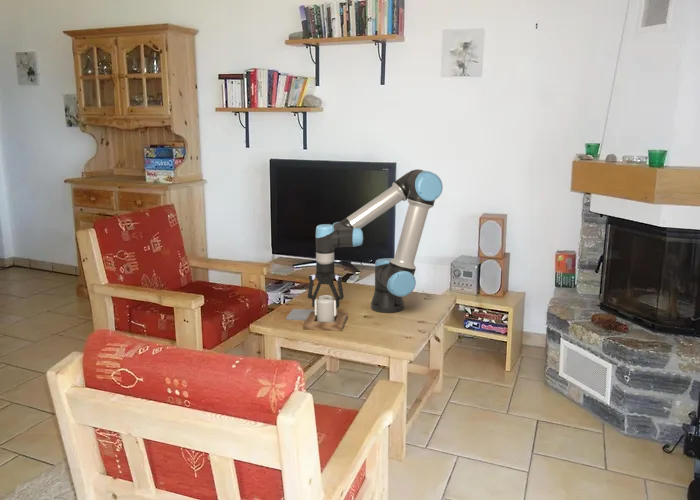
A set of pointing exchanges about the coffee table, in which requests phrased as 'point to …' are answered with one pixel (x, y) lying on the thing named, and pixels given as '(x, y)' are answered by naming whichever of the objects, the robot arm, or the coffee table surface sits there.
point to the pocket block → (325, 323)
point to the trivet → (299, 314)
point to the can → (325, 309)
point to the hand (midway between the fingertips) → (325, 314)
